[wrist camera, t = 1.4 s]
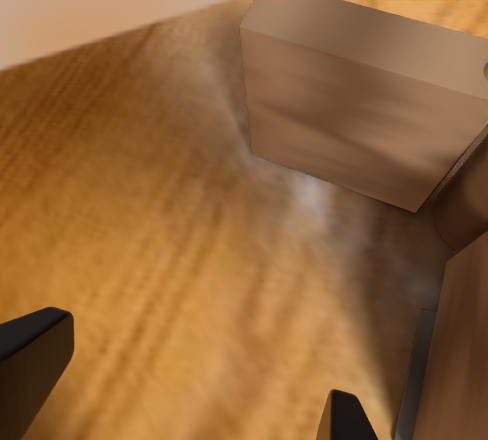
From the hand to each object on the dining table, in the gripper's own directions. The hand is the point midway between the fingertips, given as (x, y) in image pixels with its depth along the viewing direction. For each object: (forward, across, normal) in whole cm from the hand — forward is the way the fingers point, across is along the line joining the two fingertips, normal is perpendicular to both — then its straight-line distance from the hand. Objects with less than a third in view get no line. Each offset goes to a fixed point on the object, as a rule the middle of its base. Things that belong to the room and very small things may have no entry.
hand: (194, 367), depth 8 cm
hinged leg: (+18, -2, +1) cm, 18 cm away
